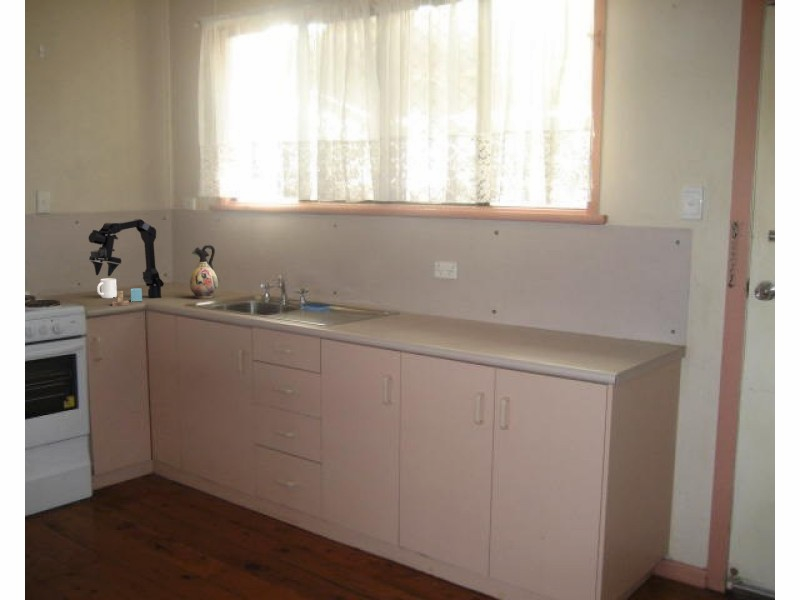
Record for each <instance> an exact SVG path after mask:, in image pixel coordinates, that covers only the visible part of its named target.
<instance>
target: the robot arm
mask: <svg viewBox="0 0 800 600" xmlns="http://www.w3.org/2000/svg"><path fill="white" fill-rule="evenodd" d="M133 228H134V229H136V230H137V232H139V233H140V234H139V235H140V238H141V240H142V241H143V243H144V244H143V245H144V255H145V271H142V280H143V281H144V283H145V285H146V287H148V289H147V297H148V298H150V299H153V298H152V297H160V298H162V287H164V284H165V283H164V281H163V280H162V279H161V277H160V274H159V271H158V269H157V268H156V255H155V244H154V243H155V240H156V239H157V229H156V228H155V227H153V226H151V225H150V224H149V223H147V222H145V221H144V220H143V219H141V218H134V219H131V220H126V221H125V220H124V221H120V222H104V223H103V226H102V227H101V228H100V229H99V230H96V229H92V232H90V233H89V235H88V242H89V243H91V244H95V245H101V246H100V247H98V249H97V250H91V251H90V256H89V261H90V263H91V264H93V266H94V272H95V276H99V274H100V272H101V270H102V267H103V265H104V263H103V262H106V264H107V277H111V276H112V274H113V273H114V271H115V270H116V268H117V267H118V266H120V265H121V264H122V258H120V257H117V256H113V252H116V251H115V248H114V246H115V245H114V244H115V240H119V237H117V235H116V234H119V233H120V232H121V231H123V230H128V229H133Z"/></svg>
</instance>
